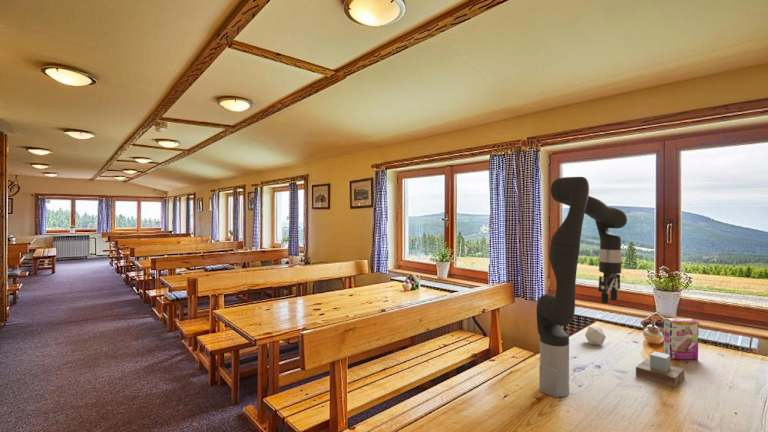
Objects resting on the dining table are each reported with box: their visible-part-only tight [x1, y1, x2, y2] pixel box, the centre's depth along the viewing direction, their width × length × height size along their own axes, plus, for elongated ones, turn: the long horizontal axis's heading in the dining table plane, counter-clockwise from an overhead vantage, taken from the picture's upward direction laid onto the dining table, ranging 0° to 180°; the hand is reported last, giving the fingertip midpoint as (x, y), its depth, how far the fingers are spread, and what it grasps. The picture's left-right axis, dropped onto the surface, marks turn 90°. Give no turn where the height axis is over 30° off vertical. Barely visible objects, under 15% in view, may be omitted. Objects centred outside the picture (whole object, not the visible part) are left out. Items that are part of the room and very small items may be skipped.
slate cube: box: [649, 350, 671, 372], centre depth 138 cm, size 5×5×5 cm
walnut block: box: [635, 358, 685, 389], centre depth 138 cm, size 12×12×4 cm
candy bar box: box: [662, 317, 700, 361], centre depth 156 cm, size 11×5×16 cm, turn 84°
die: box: [584, 326, 607, 347], centre depth 173 cm, size 8×9×10 cm
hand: (609, 301), depth 145 cm, fingers open, 8 cm apart
